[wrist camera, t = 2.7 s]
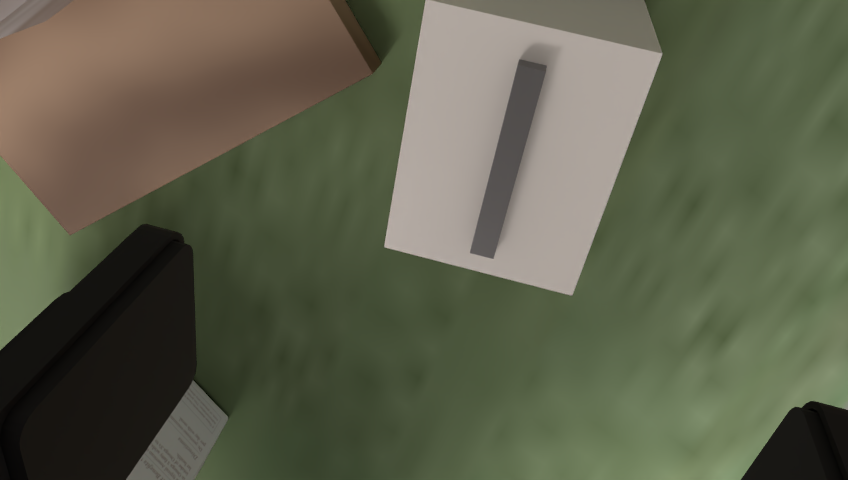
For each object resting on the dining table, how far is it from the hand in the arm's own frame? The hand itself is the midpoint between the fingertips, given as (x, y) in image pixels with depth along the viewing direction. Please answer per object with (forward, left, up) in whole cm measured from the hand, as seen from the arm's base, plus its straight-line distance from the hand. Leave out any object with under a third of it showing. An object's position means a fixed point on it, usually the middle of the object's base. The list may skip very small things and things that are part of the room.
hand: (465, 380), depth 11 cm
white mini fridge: (0, 0, -15) cm, 15 cm away
